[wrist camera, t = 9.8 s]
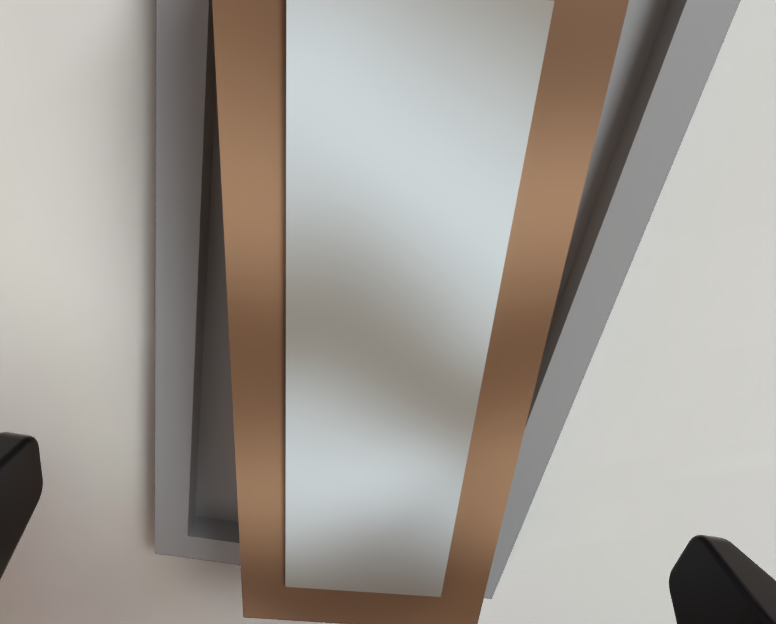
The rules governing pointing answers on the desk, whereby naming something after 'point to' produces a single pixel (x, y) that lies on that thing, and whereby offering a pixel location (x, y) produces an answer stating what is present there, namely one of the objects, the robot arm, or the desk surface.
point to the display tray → (208, 269)
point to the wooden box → (393, 282)
